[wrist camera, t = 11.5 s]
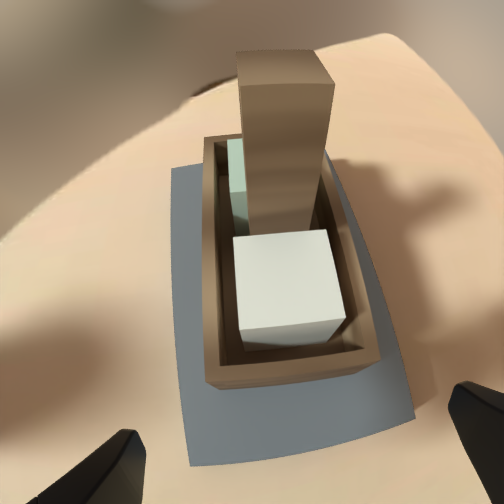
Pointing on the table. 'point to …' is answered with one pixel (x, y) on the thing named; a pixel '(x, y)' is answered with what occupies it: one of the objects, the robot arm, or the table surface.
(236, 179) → the sage block
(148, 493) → the table surface
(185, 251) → the dock
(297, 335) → the cream block
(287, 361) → the caddy
